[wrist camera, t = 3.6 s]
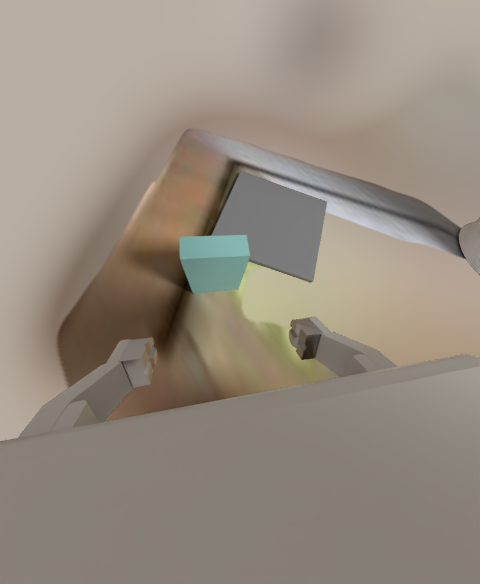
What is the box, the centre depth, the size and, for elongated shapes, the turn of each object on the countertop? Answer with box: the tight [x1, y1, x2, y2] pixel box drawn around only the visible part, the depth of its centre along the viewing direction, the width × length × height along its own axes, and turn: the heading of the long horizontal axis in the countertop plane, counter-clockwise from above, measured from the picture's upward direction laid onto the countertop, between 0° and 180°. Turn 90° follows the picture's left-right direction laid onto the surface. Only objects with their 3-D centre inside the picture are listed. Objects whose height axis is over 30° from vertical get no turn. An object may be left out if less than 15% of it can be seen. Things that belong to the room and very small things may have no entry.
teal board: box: [179, 235, 250, 293], centre depth 20 cm, size 2×6×9 cm, turn 98°
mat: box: [211, 171, 327, 282], centre depth 28 cm, size 16×16×1 cm
